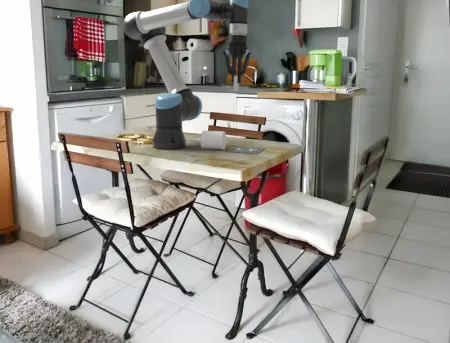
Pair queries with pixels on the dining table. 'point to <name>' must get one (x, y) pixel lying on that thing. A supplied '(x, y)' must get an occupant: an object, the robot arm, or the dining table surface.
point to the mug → (213, 140)
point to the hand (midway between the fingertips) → (236, 90)
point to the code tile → (245, 150)
